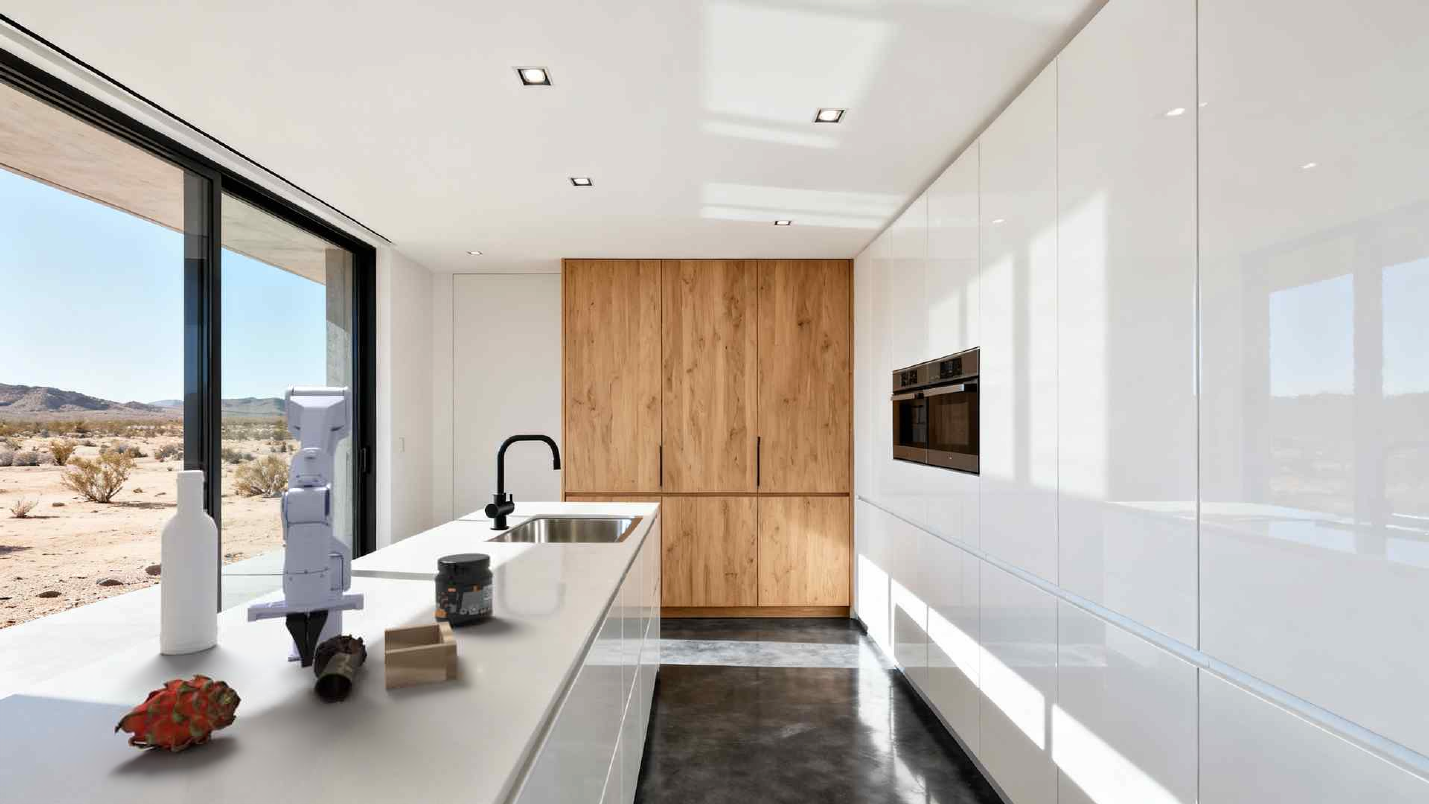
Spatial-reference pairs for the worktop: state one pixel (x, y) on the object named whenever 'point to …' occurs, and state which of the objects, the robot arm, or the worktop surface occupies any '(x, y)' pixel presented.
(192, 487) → the bottle
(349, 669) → the metal pipe
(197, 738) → the dragon fruit
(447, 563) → the supplement container
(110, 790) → the worktop surface
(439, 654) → the light wooden open box
